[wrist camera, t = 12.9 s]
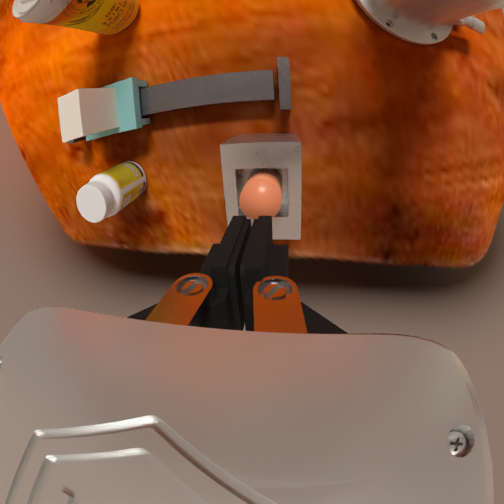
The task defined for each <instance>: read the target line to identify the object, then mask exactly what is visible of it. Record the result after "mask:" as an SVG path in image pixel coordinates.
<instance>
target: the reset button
mask: <svg viewBox="0 0 504 504" xmlns="http://www.w3.org/2000/svg"><path fill="white" fill-rule="evenodd" d="M239 203H240V207H241V209H242V211H243V212H244V214H245V215H246V216H248V217H249V218H251V219H253V220H254V219H258V217H259V216H272V218H273V217H274V216H276V215H277V213H278V212H279V210H280V208H281V204H282V182H281V179H280V177H279V176H278V175H277V174H276V173H275V172H273V171H271V170H269V169H260V170H257V171H255V172H253V173H252V174H251V175H250V176H249V178H248V180H247V182H246V184H245V186H244V188H243V190H242V192H241V194H240V198H239Z"/></svg>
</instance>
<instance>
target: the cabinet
mask: <svg viewBox="0 0 504 504" xmlns="http://www.w3.org/2000/svg"><path fill="white" fill-rule="evenodd" d="M220 151H221V163H222V174H223V184H224V195H225V205H226V215H227V225H229V223H230V221H231V219H232V217H233V216H246V215H245V214H244V212H243V211H242V209H241V207H240V203H239V198H240V194H241V192H242V190H243V188H244V186H245V184H246V182H247V180H248V178H249V176H250V175H251V174H252V173H253V172H255V171H257V170H260V169H269V170H271V171H273V172H275V173H276V174H277V175H278V176H279V177H280V179H281V182H282V204H281V208H280V210H279V212H278V213H277V215H276V216H274V217H273V218H272V235H273V239H293V240H301V141H300V139H299V137H298V135H297V134H296V133H267V134H243V135H236V136H234V137H233V138H231V139H229V140H227V141H225V142H224V143H222V144H220ZM246 218H247V219H251V218H249V217H248V216H246ZM253 221H254V220H253V219H251V226H252V224H253Z"/></svg>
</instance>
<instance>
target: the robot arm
mask: <svg viewBox="0 0 504 504" xmlns="http://www.w3.org/2000/svg"><path fill="white" fill-rule="evenodd" d="M356 2H357V4H358V5H359V7H360V8H361V9H362V10H363V12H364V13H365V14H366V15H367V16H368V17H369V18H370V19H371V20H372V21H373V22H374V23H376V24H377V25H378V26H379V27H380V28H382V29H383V30H385V31H386V32H388V33H390V34H391V35H393V36H395V37H397V38H399V39H401V40H404V41H407V42H410V43H414V44H419V45H430V44H434V43H438V42H440V41H443V40H444V39H445V38H447V37H448V35H449V34H450V33H451V30H452V27H453V25H455V24H456V25H459V26H463V25H465V26H467V27H468V28H470V29H472V30H474V31H476V32H478V33H480V34H482V33H484V31H485V25H484V23H483V22H482V21H481V20H479V19H477V18H475V17H473V15H476V14H480V13H483V12H487V11H491V10H495V9H499V8H503V7H504V0H356ZM387 24H388V25H389V26H388V25H387ZM244 323H245V326H246V331H243V328H244ZM0 504H494V485H493V470H492V462H491V454H490V448H489V442H488V437H487V432H486V427H485V422H484V418H483V414H482V411H481V408H480V404H479V401H478V398H477V395H476V392H475V390H474V387H473V385H472V382H471V380H470V378H469V376H468V373H467V372H466V369H465V367H464V366H463V364H462V363H461V361H460V360H459V358H458V357H457V356H456V355H455V354H454V352H453V351H451V350H450V349H449V348H447V347H446V346H444V345H442V344H440V343H437V342H434V341H432V340H428V339H424V338H420V337H416V336H409V335H402V334H385V333H383V334H382V333H381V334H349V333H347V332H345V331H343V330H342V329H341V328H339V327H338V326H336V325H335V324H333V323H332V322H330V321H329V320H327V319H326V318H324V317H323V316H321V315H320V314H318V313H317V312H315V311H314V310H312V309H311V308H309V307H308V306H306V305H305V304H304V303H302V302H301V301H300V298H299V294H298V290H297V286H296V284H295V283H294V282H293V281H292V280H290V279H288V245H273V235H272V216H259V217H258V219H254V221H253V224H252V226H251V219H247V218H246V216H233V217H232V219H231V221H230V223H229V225H228V228H227V230H226V232H225V234H224V236H223V238H222V240H221V243H220V244H213V246H212V247H211V249H210V252H209V254H208V256H207V258H206V260H205V262H204V264H203V266H202V268H201V270H200V272H199V273H193V274H188V275H185V276H183V277H181V278H179V279H178V280H177V281H176V282H175V283H174V284H173V285H172V286H171V288H170V289H169V290H168V291H167V293H166V294H165V295H164V296H163V298H162V299H161V300H160V302H159V303H158V304H155V305H153V306H151V307H149V308H147V309H144V310H142V311H140V312H138V313H136V314H133V315H131V316H129V317H127V318H125V317H118V316H112V315H107V314H101V313H95V312H90V311H84V310H78V309H72V308H63V307H46V308H40V309H36V310H34V311H31V312H29V313H27V314H26V315H25V316H24V317H23V318H22V319H21V320H20V321H19V322H18V323H17V324H16V326H15V327H14V328H13V329H12V330H11V332H10V333H9V334H8V335H7V337H6V338H5V339H4V341H3V342H2V344H1V345H0Z"/></svg>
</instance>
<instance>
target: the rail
mask: <svg viewBox="0 0 504 504" xmlns="http://www.w3.org/2000/svg"><path fill="white" fill-rule="evenodd" d="M277 64H278V80H279V99H280V110H291V109H292V108H291V87H290V69H289V57H277ZM139 100H140V110H141V116H146V115H151V114H156V113H161V112H166V111H172V110H178V109H184V108H190V107H198V106H205V105H214V104H223V103H235V102H249V101H271V100H275V90H274V73H273V70H262V71H246V72H234V73H224V74H216V75H208V76H202V77H195V78H189V79H184V80H178V81H173V82H168V83H164V84H159V85H155V86H151V87H147V88H143V89H139ZM85 139H86V136H84V137H80V138H77V139H73V140H70V141H68V144H71V143H75V142H78V141H81V140H85Z"/></svg>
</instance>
